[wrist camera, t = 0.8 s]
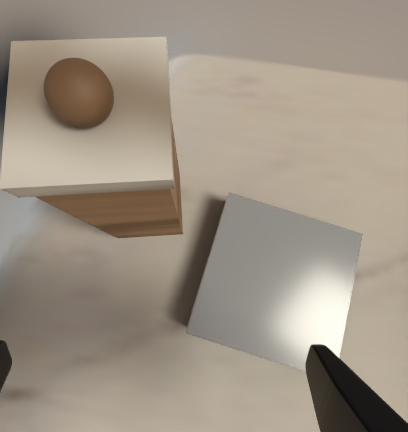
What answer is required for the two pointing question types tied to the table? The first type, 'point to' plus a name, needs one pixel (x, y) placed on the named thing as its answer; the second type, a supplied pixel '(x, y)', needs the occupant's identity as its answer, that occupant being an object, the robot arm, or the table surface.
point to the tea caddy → (94, 132)
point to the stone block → (275, 283)
